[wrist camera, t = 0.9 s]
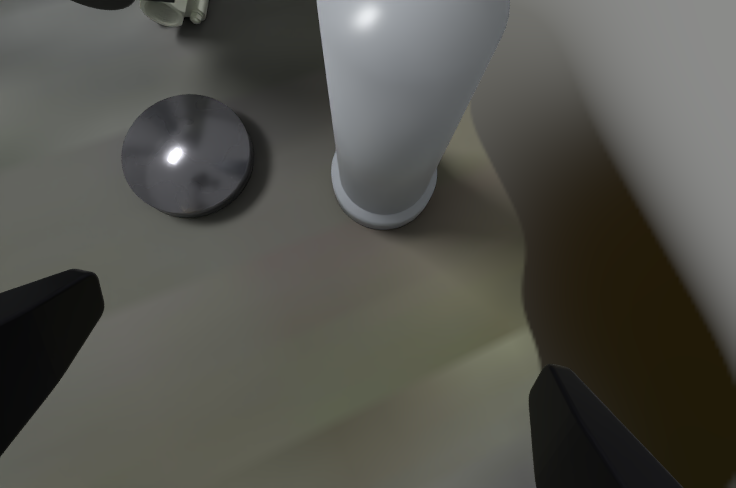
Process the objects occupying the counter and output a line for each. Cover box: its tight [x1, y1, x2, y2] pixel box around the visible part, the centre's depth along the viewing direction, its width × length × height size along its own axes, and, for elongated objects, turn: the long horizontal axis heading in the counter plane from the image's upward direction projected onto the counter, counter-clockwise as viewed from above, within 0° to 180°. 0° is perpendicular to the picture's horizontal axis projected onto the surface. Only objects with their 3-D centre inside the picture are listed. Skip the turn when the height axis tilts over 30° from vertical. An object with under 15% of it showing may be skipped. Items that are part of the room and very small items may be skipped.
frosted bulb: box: [317, 0, 510, 230], centre depth 16 cm, size 5×5×13 cm
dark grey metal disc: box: [122, 94, 254, 218], centre depth 22 cm, size 7×7×1 cm
